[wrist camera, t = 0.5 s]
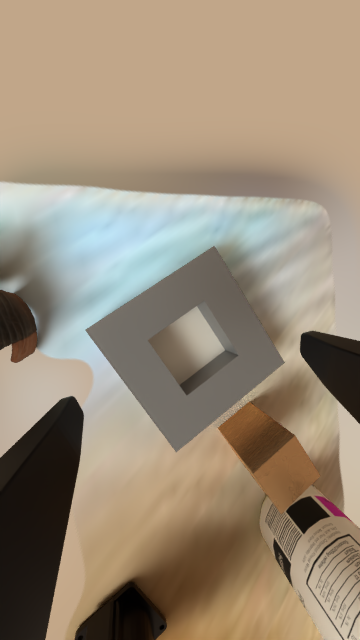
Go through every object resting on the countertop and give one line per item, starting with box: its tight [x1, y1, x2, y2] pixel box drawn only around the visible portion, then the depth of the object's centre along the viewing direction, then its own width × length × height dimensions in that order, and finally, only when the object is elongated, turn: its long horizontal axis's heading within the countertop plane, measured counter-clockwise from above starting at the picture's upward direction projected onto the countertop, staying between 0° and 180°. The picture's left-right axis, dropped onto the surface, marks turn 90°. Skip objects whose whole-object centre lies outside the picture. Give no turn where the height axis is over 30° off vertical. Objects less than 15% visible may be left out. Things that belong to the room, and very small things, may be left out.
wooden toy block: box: [218, 402, 320, 514], centre depth 21 cm, size 4×4×7 cm
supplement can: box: [259, 485, 360, 640], centre depth 19 cm, size 8×8×15 cm
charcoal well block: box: [86, 246, 285, 452], centre depth 21 cm, size 13×13×4 cm
